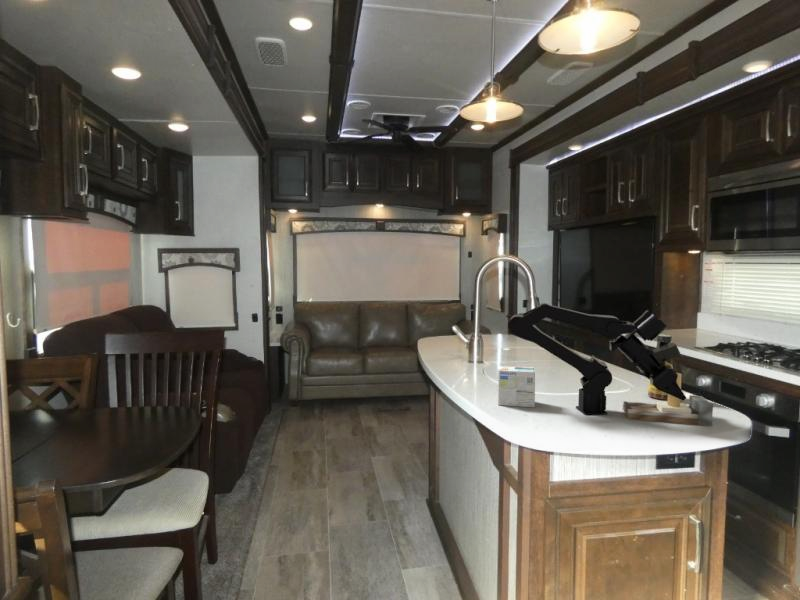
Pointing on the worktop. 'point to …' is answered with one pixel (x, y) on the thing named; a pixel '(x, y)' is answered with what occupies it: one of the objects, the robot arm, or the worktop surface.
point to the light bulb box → (516, 386)
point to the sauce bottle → (652, 389)
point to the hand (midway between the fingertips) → (679, 394)
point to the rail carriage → (674, 402)
